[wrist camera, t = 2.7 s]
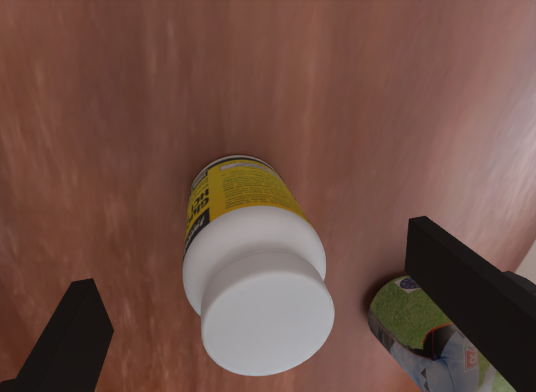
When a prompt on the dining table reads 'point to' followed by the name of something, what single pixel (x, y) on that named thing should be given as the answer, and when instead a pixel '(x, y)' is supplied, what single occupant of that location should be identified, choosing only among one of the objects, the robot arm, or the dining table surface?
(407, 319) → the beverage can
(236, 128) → the dining table surface
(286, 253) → the pill bottle
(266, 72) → the dining table surface
